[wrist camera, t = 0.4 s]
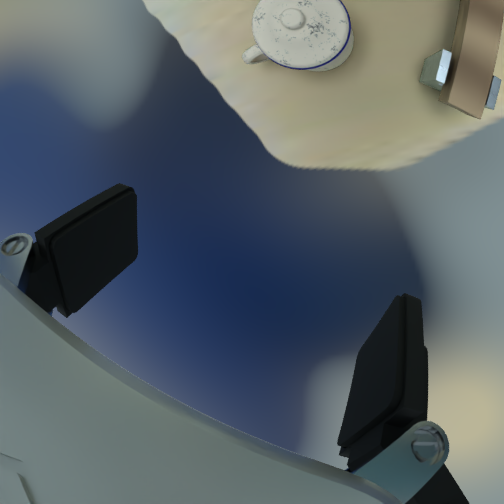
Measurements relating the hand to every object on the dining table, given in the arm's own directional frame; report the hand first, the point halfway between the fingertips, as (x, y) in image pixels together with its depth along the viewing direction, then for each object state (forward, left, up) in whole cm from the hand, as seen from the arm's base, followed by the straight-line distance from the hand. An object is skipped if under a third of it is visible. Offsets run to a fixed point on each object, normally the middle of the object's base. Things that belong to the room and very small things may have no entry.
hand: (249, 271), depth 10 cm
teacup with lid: (-10, -7, -30) cm, 32 cm away
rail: (-18, +10, -22) cm, 30 cm away
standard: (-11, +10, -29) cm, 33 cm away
